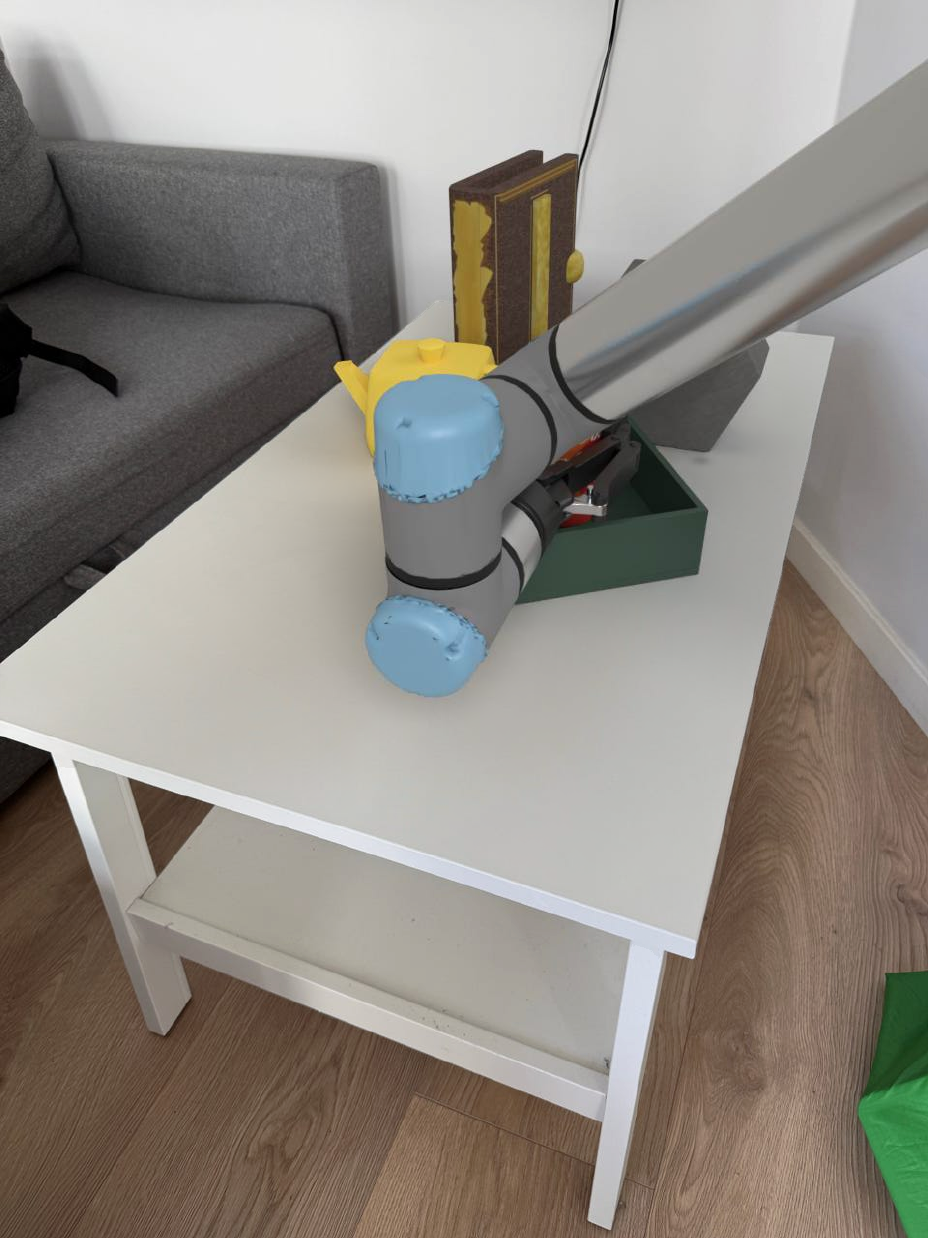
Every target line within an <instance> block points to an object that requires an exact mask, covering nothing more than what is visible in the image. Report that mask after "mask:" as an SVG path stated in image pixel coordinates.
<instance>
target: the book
mask: <svg viewBox="0 0 928 1238" xmlns="http://www.w3.org/2000/svg"><path fill="white" fill-rule="evenodd" d="M579 161H580V154H578V153H572V152H564V153H562V154H561V155H558V156H556V157H554V158H552V159H549V160H547V161H545V162H544V150H541V149H529V150H525V151H524V152H522V153H520V154H517V155H515V156H513V157H510V158H508V159H505V160H503V161H501V162H499V163H497V164H494V165H492V166H489V167H488V168H484V169H483V170H481V171H478V172H476V173H474V174H472V175H469V176H467V177H465V178H463V179H460V180H458V181H456V182H454V183H453V182H452V183H451V184H450V185H449V187H448V202H449V203H448V205H449V206H448V207H449V230H450V231H449V233H450V234H449V235H450V256H451V257H450V260H451V282H452V285H451V286H452V309H453V337H454V342H458V343H469V344H477V345H484V346H488V347H490V348H491V349H492V353H493V357H494V361H495V365H498V366H499V365H500V364H501V363H503V362H504V361H506V360H507V359H508V358H510V357H511V356H513V355H514V354H515V353H517V352H518V351H519V350H520V349H521V348H522V347H524V346H525V345H527V344H528V343H529V342H530V341H532V340H533V339H535V338H536V337H538V336H539V335H541V334H543V333H545V332H546V331H548V330H549V329H551V328H552V327H554V326H555V325H557V324H559V323H560V322H562V321H563V320H564V319H566V318H567V317H568V316H569V315H570V314H572V313H573V304H574V303H573V301H574V284H575V283H577V282H579V281H580V280H581V279H582V277H583V274H584V271H585V260H584V255H583V253H582V252H581V251H579V250H578V249H577V248H576V234H577V233H576V231H577V208H578V187H579V185H578V183H579V163H580V162H579Z"/></svg>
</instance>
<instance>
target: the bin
mask: <svg viewBox="0 0 928 1238" xmlns="http://www.w3.org/2000/svg"><path fill="white" fill-rule="evenodd" d="M627 424H630V426H631V430H630V441H637V442H639V443H640V444H641V448H640V458H639V468H638V471H637V473H636V474H635V475H634V476H633V478H632V479H631V480H630V481H629V483H628V484H627V485H626V486H625V488H624V489H623V490H622V491H621V493H620V494H619V495H618V496H617V498H616V499H615V500H614V501H613V503H612V504H611V505H610V506H609V508H608V509H607V518H606V522H605V523H603V524H595V523H593V522H592V521H591V519H590V520H588V521H587V522H585V523H583V524H580V525H576V526H569V527H561V526H559V528H558V530H557V532H556V534H555V536H554V538H553V540H552V541H551V543H550V545H549V546H548V548H547V550H546V552H545V553H544V555H543V557H542V558H541V560H540V561H539V562H538V564H537V567H536V568H535V570H534V572H533V573H532V575H531V577H530V579H529V580H528V582H527V584H526V585H525V587H524V589H523V591H522V592H521V594H520V595H519V597H518V599H517V600H516V602H515V604H514V606H517V605H522V604H527V603H532V602H533V603H534V602H539V601H540V602H541V601H546V600H551V599H557V598H563V597H569V596H570V597H571V596H575V595H576V596H577V595H581V594H587V593H588V594H589V593H593V592H601V591H606V590H611V589H618V588H623V587H629V586H630V587H631V586H635V585H641V584H648V583H653V582H659V581H660V582H661V581H665V580H666V581H667V580H670V579H678V578H683V577H688V576H689V577H690V576H697V575H699V574H700V573H699V572H700V566H701V562H702V561H701V560H702V553H703V549H704V542H705V535H706V529H707V524H708V523H707V522H708V515H709V509H708V508H707V507H706V505H704V503H703V502H702V501H701V500H700V498H699V497H698V496H697V494H695V492H694V491H693V489H691V487H690V486H689V485H688V484H687V482H686V481H685V480H684V479H683V477H682V476H681V475H680V474H679V472H678V471H677V470H676V469H675V468H674V467H673V465H672V464H671V463H670V462H669V461H668V459H667V458H666V457H665V456H664V455H663V453H661V451H660V450H659V449H658V448H657V445H655V444H653V443H652V442H651V440H650V439H649V438H648V437H647V436H646V434H645V433H644V432H643V431H642V430H641V428H640V427H639V426H638V425H637V424H636V422H635V421H634V420H633V419H632V418H631V416H630V415H629V414H628V422H627Z"/></svg>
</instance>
